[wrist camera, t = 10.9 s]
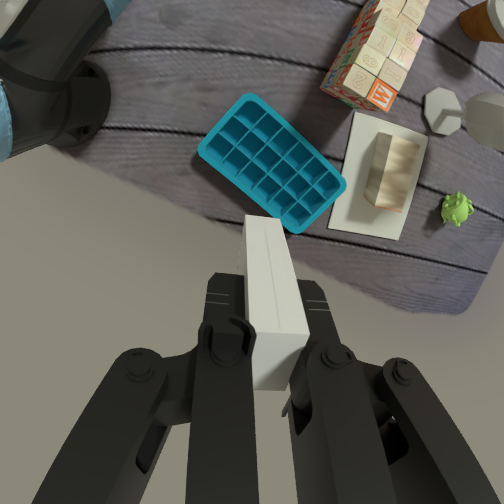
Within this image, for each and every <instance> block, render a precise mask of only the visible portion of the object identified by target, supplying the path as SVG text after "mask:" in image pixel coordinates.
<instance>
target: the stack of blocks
mask: <svg viewBox="0 0 504 504" xmlns="http://www.w3.org/2000/svg"><path fill="white" fill-rule="evenodd" d="M429 1H430V0H368V1H367V3H366V4H365V5H364V7H363V9H362V11H361V12H360V14H359V16H358V18H357V19H356V21H355V23H354V25H353V27H352V30H351V31H350V33H349V35H348V37H347V39H346V40H345V43H344V44H343V46H342V48H341V50H340V52H339V53H338V55H337V57H336V58H335V60H334V62H333V64H332V65H331V67H330V69H329V71H328V73H327V74H326V76H325V78H324V80H323V81H322V83H321V85H320V87H319V89H320V90H322V91H324V92H326V93H327V94H329V95H331V96H333V97H335V98H337V99H339V100H340V101H342V102H344V103H345V104H347V105H349V106H350V107H352V108H355V109H364V110H370V111H380V112H388V111H389V109H390V107H391V105H392V103H393V101H394V99H395V97H396V95H397V92H398V91H399V90H400V88H401V86H402V84H403V82H404V80H405V77H406V75H407V72H408V71H409V69H410V67H411V65H412V63H413V60H414V58H415V56H416V52H417V51H418V48H419V46H420V44H421V41H422V39H423V36H422V35H421V34H419V33H418V32H417V31H416V30H417V28H418V26H419V25H420V23H421V21H422V18H423V16H424V14H425V10H426V8H427V5H428V3H429Z"/></svg>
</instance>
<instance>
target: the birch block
mask: <svg viewBox="0 0 504 504" xmlns="http://www.w3.org/2000/svg"><path fill="white" fill-rule="evenodd" d="M419 149H420V145H418V144H415V143H413V142H410V141H407V140H404V139H401V138H398V137H395V136H392V135H389V134H386V133H382V132H379V133H378V137H377V142H376V146H375V151H374V155H373V159H372V163H371V167H370V171H369V175H368V179H367V183H366V187H365V191H364V194H363V197H364V198H365V199H366V200H367V201H369V202H370V203H371V204H372V205H373V206H374V207H377V208H381V209H386V210H390V211H395V212H399V213H402V210H403V206H404V203H405V200H406V197H407V193H408V190H409V187H410V183H411V180H412V176H413V172H414V168H415V165H416V161H417V157H418V153H419Z"/></svg>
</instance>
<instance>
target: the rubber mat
mask: <svg viewBox="0 0 504 504" xmlns="http://www.w3.org/2000/svg"><path fill="white" fill-rule="evenodd" d="M379 132H382V133H386V134H389V135H392V136H395V137H398V138H401V139H404V140H407V141H410V142H413V143H415V144H418V145H420V149H419V153H418V157H417V161H416V165H415V168H414V172H413V176H412V180H411V183H410V187H409V190H408V193H407V197H406V200H405V203H404V206H403V210H402V213H399V212H395V211H390V210H386V209H381V208H377V207H374V206H373V205H372V204H371V203H370V202H369V201H367V200H366V199H365V198H364V197H363V194H364V191H365V187H366V183H367V179H368V175H369V171H370V167H371V163H372V159H373V155H374V151H375V146H376V142H377V137H378V133H379ZM427 141H428V137H427V136H425V135H422V134H420V133H417V132H415V131H412V130H409V129H407V128H404V127H401V126H398V125H396V124H393V123H390V122H387V121H384V120H381V119H378V118H375V117H371V116H368V115H365V114H361V113H358V112H354V117H353V122H352V127H351V131H350V136H349V141H348V146H347V150H346V155H345V159H344V164H343V168H342V172H341V175H342V176H343V177H344V178H345V180H346V183H347V187H346V190H345V191H344V192H343V193H342V194H341V195H340V196H339V197H338V198H337V199H336V200H335V201H334V205H333V209H332V212H331V216H330V220H329V224H328V228H331V229H337V230H343V231H349V232H355V233H361V234H367V235H372V236H378V237H384V238H389V239H395V240H398V239H399V236H400V233H401V231H402V228H403V225H404V222H405V219H406V216H407V213H408V210H409V207H410V204H411V200H412V197H413V194H414V191H415V187H416V184H417V180H418V177H419V173H420V169H421V166H422V162H423V158H424V154H425V150H426V145H427Z"/></svg>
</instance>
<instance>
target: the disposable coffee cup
mask: <svg viewBox="0 0 504 504" xmlns="http://www.w3.org/2000/svg"><path fill="white" fill-rule="evenodd" d="M459 22H460V25H461V27H462V29H463V31H464V32H465V34H466V35H467V36H468V37H469V38H471V39H472V40H475V41H486V42H496V43H504V0H486V1H484V2H482V3H480V4H477V5H475V6H473V7H471V8H469V9H467V10H465V11H463V12H461V13H460V15H459Z"/></svg>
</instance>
